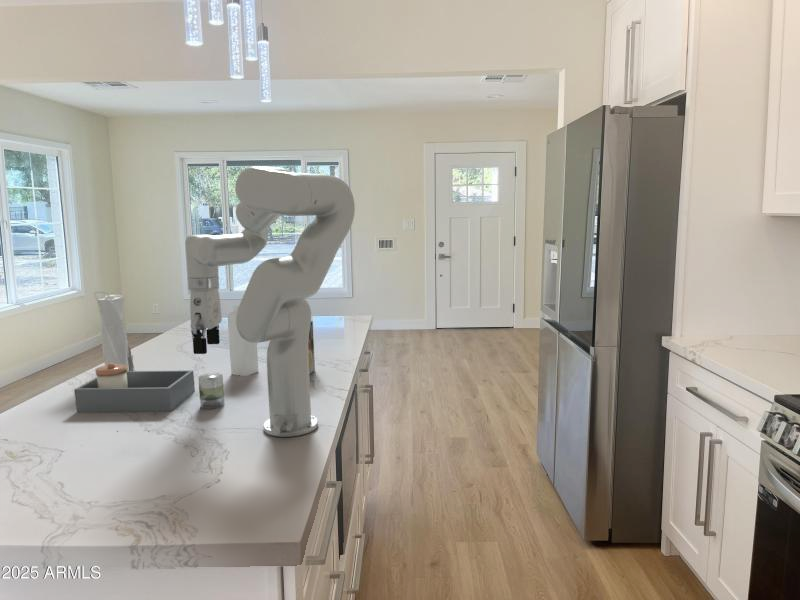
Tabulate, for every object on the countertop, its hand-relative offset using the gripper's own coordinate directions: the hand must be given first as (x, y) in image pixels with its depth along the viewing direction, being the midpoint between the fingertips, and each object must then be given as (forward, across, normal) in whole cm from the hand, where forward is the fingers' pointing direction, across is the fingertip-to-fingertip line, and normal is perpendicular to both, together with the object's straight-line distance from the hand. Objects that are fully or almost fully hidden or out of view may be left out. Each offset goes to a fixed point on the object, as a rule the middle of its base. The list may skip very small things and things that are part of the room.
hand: (207, 348), depth 148 cm
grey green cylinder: (+15, -1, -1) cm, 15 cm away
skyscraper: (+16, +21, +35) cm, 44 cm away
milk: (+16, +29, -1) cm, 33 cm away
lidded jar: (+15, 0, +26) cm, 30 cm away
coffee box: (+16, +27, -19) cm, 37 cm away
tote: (+16, 0, +19) cm, 25 cm away
